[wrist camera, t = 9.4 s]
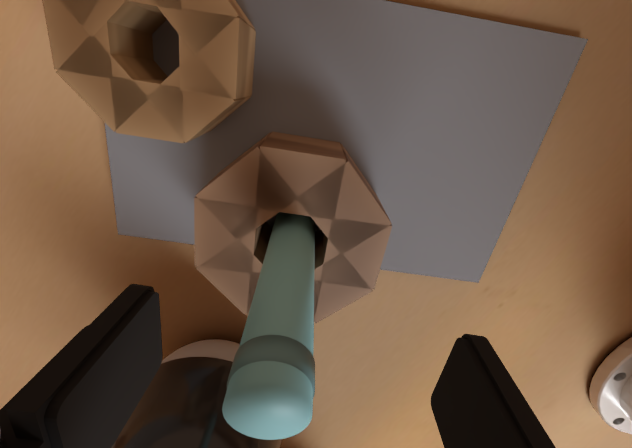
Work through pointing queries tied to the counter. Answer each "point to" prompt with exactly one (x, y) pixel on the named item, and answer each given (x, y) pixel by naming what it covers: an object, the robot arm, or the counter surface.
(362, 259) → the bead
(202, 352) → the pump dispenser
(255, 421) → the teal rounded rod
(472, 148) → the mat
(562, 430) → the counter surface
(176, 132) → the oak bead
